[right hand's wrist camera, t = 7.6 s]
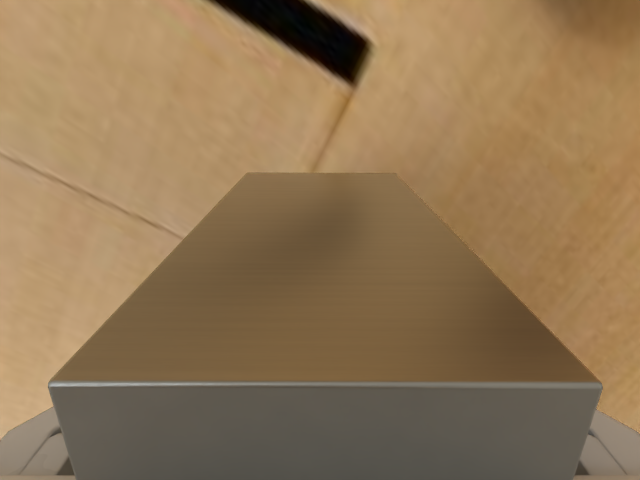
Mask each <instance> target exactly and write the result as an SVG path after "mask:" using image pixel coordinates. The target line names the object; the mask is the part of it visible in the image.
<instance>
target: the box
mask: <svg viewBox="0 0 640 480" xmlns="http://www.w3.org/2000/svg"><path fill="white" fill-rule="evenodd" d="M48 389H49V392H50V395H51V399H52V402H53V405H54V409H55V412H56V415H57V419H58V422H59V425H60V428H61V432H62V435H63V438H64V442H65V445H66V448H67V452H68V455H69V458H70V462H71V465H72V468H73V471H74V475H75V478H76V480H573V478H574V475H575V472H576V469H577V466H578V463H579V460H580V457H581V454H582V451H583V448H584V445H585V441H586V438H587V435H588V432H589V429H590V426H591V423H592V420H593V417H594V414H595V411H596V407H597V404H598V401H599V398H600V395H601V392H602V389H603V387H602V384H601V382H600V381H599V380H598V379H597V378H596V377H595V376H594V375H593V374H592V373H591V372H590V371H589V370H588V369H587V368H586V367H585V366H584V365H583V364H582V362H581V361H580V360H579V359H578V358H577V357H576V356H575V355H574V354H573V353H572V352H571V351H570V350H569V349H568V348H567V347H566V346H565V345H564V344H563V343H562V342H561V341H560V340H559V339H558V338H557V337H556V336H555V335H554V334H553V333H552V332H551V331H550V330H549V329H548V328H547V327H546V326H545V325H544V324H543V323H542V322H541V321H540V320H539V319H538V318H537V317H536V316H535V315H534V314H533V313H532V312H531V311H530V310H529V309H528V307H527V306H526V305H525V304H524V303H523V302H522V301H521V300H520V299H519V298H518V297H517V296H516V295H515V294H514V293H513V292H512V291H511V290H510V289H509V288H508V287H507V286H506V285H505V284H504V283H503V282H502V281H501V280H500V279H499V278H498V277H497V276H496V275H495V274H494V273H493V272H492V271H491V270H490V269H489V268H488V267H487V266H486V265H485V264H484V263H483V262H482V261H481V260H480V259H479V258H478V257H477V256H476V255H475V254H474V252H473V251H472V250H471V249H470V248H469V247H468V246H467V245H466V244H465V243H464V242H463V241H462V240H461V239H460V238H459V237H458V236H457V235H456V234H455V233H454V232H453V231H452V230H451V229H450V228H449V227H448V226H447V225H446V224H445V223H444V222H443V221H442V220H441V219H440V218H439V217H438V216H437V215H436V214H435V213H434V212H433V211H432V210H431V209H430V208H429V207H428V206H427V205H426V204H425V203H424V202H423V201H422V200H421V199H420V197H419V196H418V195H417V194H416V193H415V192H414V191H413V190H412V189H411V188H410V187H409V186H408V185H407V184H406V183H405V182H404V181H403V180H402V179H401V178H400V177H399V176H398V175H397V174H396V173H246V174H245V175H244V177H243V178H242V179H241V180H240V181H239V182H238V183H237V184H236V185H235V186H234V187H233V188H232V189H231V190H230V191H229V192H228V193H227V194H226V195H225V197H224V198H223V199H222V200H221V201H220V202H219V203H218V204H217V205H216V206H215V207H214V208H213V209H212V210H211V211H210V212H209V213H208V214H207V215H206V217H205V218H204V219H203V220H202V221H201V222H200V223H199V224H198V225H197V226H196V227H195V228H194V229H193V230H192V231H191V232H190V233H189V234H188V235H187V237H186V238H185V239H184V240H183V241H182V242H181V243H180V244H179V245H178V246H177V247H176V248H175V249H174V250H173V251H172V252H171V253H170V254H169V255H168V257H167V258H166V259H165V260H164V261H163V262H162V263H161V264H160V265H159V266H158V267H157V268H156V269H155V270H154V271H153V272H152V273H151V274H150V275H149V277H148V278H147V279H146V280H145V281H144V282H143V283H142V284H141V285H140V286H139V287H138V288H137V289H136V290H135V291H134V292H133V293H132V294H131V295H130V297H129V298H128V299H127V300H126V301H125V302H124V303H123V304H122V305H121V306H120V307H119V308H118V309H117V310H116V311H115V312H114V313H113V314H112V315H111V317H110V318H109V319H108V320H107V321H106V322H105V323H104V324H103V325H102V326H101V327H100V328H99V329H98V330H97V331H96V332H95V333H94V334H93V335H92V337H91V338H90V339H89V340H88V341H87V342H86V343H85V344H84V345H83V346H82V347H81V348H80V349H79V350H78V351H77V352H76V353H75V354H74V355H73V357H72V358H71V359H70V360H69V361H68V362H67V363H66V364H65V365H64V366H63V367H62V368H61V369H60V370H59V371H58V372H57V373H56V374H55V375H54V377H53V378H52V379H51V380H50V381H49V383H48Z"/></svg>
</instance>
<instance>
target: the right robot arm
mask: <svg viewBox="0 0 640 480" xmlns="http://www.w3.org/2000/svg"><path fill="white" fill-rule="evenodd" d="M0 480H76V478H75V475H74V471H73V468H72V465H71V462H70V458H69V455H68V452H67V448H66V445H65V442H64V438H63V435H62V432H61V428H60V425H59V422H58V419H57V415H56V412H55V409H54V406H53V407H52V408H50V409H48V410H46V411H44V412H43V413H41V414H39V415H37V416H35V417H34V418H32V419H30V420H28V421H26V422H25V423H23V424H21V425H19V426H17V427H15V428H14V429H12V430H10V431H8V433H7V434H6V435H5V436H4V437H3V438H2V439H1V440H0ZM573 480H640V434H639V433H638V432H637V431H635V430H633V429H631V428H629V427H628V426H626V425H624V424H622V423H620V422H618V421H617V420H615V419H613V418H611V417H609V416H608V415H606V414H604V413H602V412H600V411H599V410H597V409H596V411H595V414H594V417H593V420H592V423H591V426H590V429H589V432H588V435H587V438H586V441H585V445H584V448H583V451H582V454H581V457H580V460H579V463H578V466H577V469H576V472H575V475H574V478H573Z"/></svg>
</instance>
